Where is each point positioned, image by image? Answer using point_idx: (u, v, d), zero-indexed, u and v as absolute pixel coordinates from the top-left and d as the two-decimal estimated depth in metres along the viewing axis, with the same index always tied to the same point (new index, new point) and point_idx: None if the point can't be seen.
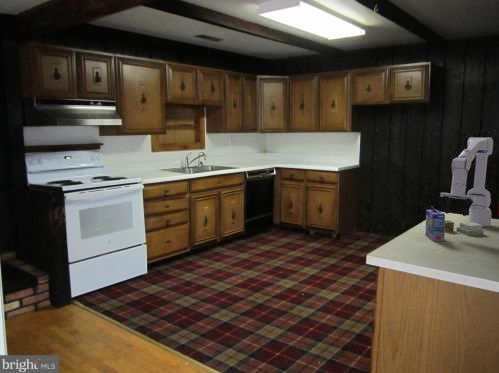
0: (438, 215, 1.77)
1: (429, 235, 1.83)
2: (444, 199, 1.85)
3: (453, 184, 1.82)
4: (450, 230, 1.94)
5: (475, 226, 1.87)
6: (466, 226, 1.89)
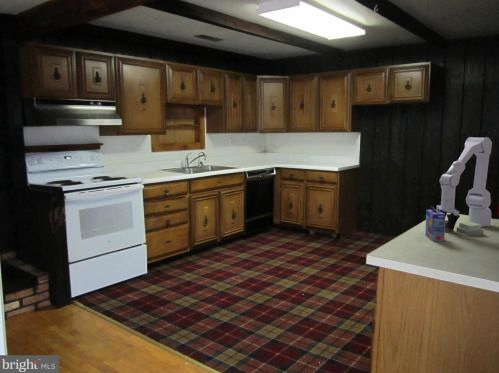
0: (438, 215, 1.77)
1: (429, 235, 1.83)
2: None
3: (441, 199, 1.95)
4: (450, 230, 1.94)
5: (474, 226, 1.87)
6: (465, 226, 1.89)
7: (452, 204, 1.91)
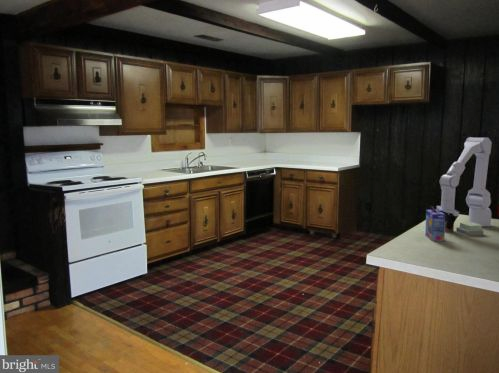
0: (438, 215, 1.77)
1: (429, 235, 1.83)
2: None
3: (441, 199, 1.95)
4: (450, 230, 1.94)
5: (475, 226, 1.87)
6: (466, 226, 1.89)
7: (452, 205, 1.92)
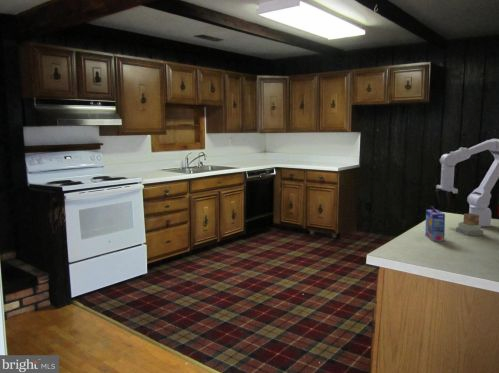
0: (438, 215, 1.77)
1: (429, 235, 1.83)
2: (436, 191, 2.07)
3: (441, 178, 2.03)
4: (475, 223, 1.88)
5: (474, 226, 1.88)
6: (465, 226, 1.89)
7: (451, 183, 2.00)
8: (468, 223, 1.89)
